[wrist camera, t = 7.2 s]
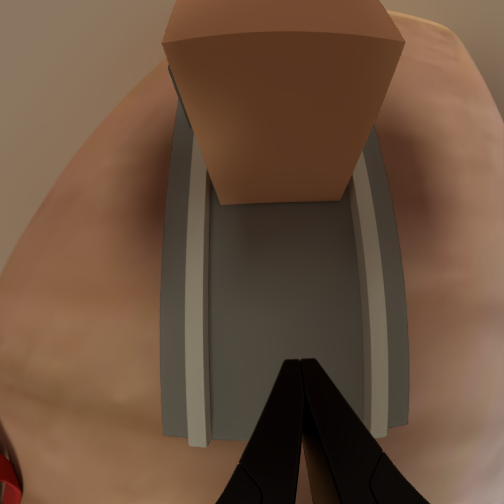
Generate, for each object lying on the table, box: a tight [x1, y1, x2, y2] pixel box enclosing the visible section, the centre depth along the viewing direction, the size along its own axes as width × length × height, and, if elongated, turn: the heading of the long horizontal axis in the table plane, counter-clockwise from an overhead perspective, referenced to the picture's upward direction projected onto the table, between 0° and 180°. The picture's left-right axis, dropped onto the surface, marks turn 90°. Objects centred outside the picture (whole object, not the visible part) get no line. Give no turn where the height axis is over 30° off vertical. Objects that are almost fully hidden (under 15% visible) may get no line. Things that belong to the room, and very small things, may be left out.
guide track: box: [160, 65, 409, 447], centre depth 14 cm, size 20×12×6 cm, turn 1°
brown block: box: [162, 0, 405, 205], centre depth 11 cm, size 5×6×10 cm
